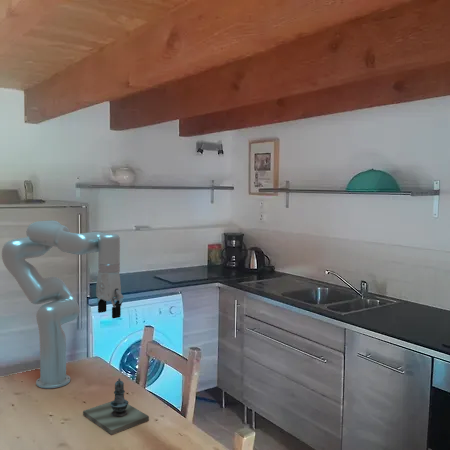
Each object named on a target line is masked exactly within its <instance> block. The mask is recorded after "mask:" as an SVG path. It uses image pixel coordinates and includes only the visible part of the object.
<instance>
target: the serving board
mask: <svg viewBox="0 0 450 450" xmlns="http://www.w3.org/2000/svg"><path fill="white" fill-rule="evenodd" d="M112 401H113V400H112ZM112 401H109V402H105V403H102V404H100V405H96V406H94V407H91V408H88V409H85V410H83V411H82V416H83V417H85V418H86V419H88V421H91V422H92V423H93V424H95V425H96V426H97V427H99V428H101V429H102V430H103V431H105V432H107V434H109V435H111V436H113V435H115V434H118V433H120V432H123V431H126V430H128V429H131V428H133V427H134V428H135V427H136V426H138V425H142V424H144V423H146V422H148V421H149V420H150V416H149V415H148V414H146V413H144V412H143V411H141V410H139V409H137V408H136V407H134V406H133V405H130V404H129V403H128V405H127V408H126V409H125V410H126V411H127V412H128V413H127V415H125V416H123V417H114V416H112V415H111V413H112V412H113V411H114V410H113V409H112V407H111V405H110V403H111V402H112Z"/></svg>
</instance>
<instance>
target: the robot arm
mask: <svg viewBox="0 0 450 450" xmlns="http://www.w3.org/2000/svg"><path fill="white" fill-rule="evenodd" d="M120 238H121V237H120V235H119V234H117V233H105V232H101V231H91V232H83V233H82V232H81V233H75V232H71V231H70V229H69V227H67V226H66V225H62V224H61V223H60V222H59V221H57V220H54V219H53V220H39V221H34V222H32V223H31V224H29V225H28V226H27V228H26V237H19V238H14V239H11V240H8V241H7V242H5V243H4V245H3V246H2V249H1V259H2V262H3V264H4V267H5V268H6V270H7V271H8V272H9V274H11V275H12V277H13V278H14V279H15V281H16V282H17V285H19V287H20V289H21V290H22V292H23V294H24V295H25V296H26V298H27V299H28V301H29V302H30V303H31V304H33V305H41V304H42V305H41V306H40V307H39V308H38V309H37V311H36V314H35V317H36V323H37V327H38V334H39V374H40V377H39V378H38V379H36V380H35V385H36V386H37V387H39V388H41V389H56V388H61V387H64V386H67V385H68V384H69V383H70V382H71V376H70V375H68V374H67V350H66V349H67V345H66V344H67V343H66V339H67V338H66V334H65V331H64V329H63V327H62V325H65V324H67V323H70V322H73V321H75V320H76V319H77V318H78V317H79V315H80V310H81V309H80V306H79V303H78V301H77V299H76V298H75V296H74V295H73V294H72V292H71V291H70V289H69V287H68V286H67V285H66V283H65V282H64V280H62V279H61V278H59V277H57V276H49V277H43V276H42V275H41V274H40V272H39V271H38V269H37V267H35V266H34V265H32V263H30V262H28V261H27V260H26V259H33V258H38V257H42V256H43V255H45V254H46V253H48V251H50V250H51V249H52V248H53V247H54V248H57V249H58V250H59V251H61V252H63V253H65V254H66V253H68V254H71V255H79V256H82V255H88V254H94V253H97V254H98V257H97V258H98V259H97V262H98V263H97V264H98V265H97V267H98V269H97V271H98V272H97V276H96V284H95V285H96V286H95V296H96V298H97V299H96V301H97V313H99V314H100V313H101V314H102V313H106V312H107V302H111V304H112V307H111V318H112V319H118V318H121V314H122V313H121V312H122V311H121V310H122V309H121V307H122V304H123V301H124V295H123V294H122V286H121V283H122V282H121V275H120V272H121V265H120V264H121V263H120V262H121V249H120V248H121V244H120V243H121V239H120Z"/></svg>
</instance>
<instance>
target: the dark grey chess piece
mask: <svg viewBox="0 0 450 450" xmlns="http://www.w3.org/2000/svg"><path fill="white" fill-rule="evenodd" d="M124 384H125V383H124V382H123V381H122V380H121V378H120V377H119V378H118V379H117V381H115V383H114V391H113V394H114V400H112V402H111V401H110V402H111V403H110V405H111V407H112V409H113V410H114V411H113V412H112V413H111V415H112V416H114V417H123V416H125V415H127V413H128V412H127V411H126V410H125V409H126V408H127V405H128V404H129V401H128V400H127V399H125V390H124V388H125V387H124V386H125V385H124Z"/></svg>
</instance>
